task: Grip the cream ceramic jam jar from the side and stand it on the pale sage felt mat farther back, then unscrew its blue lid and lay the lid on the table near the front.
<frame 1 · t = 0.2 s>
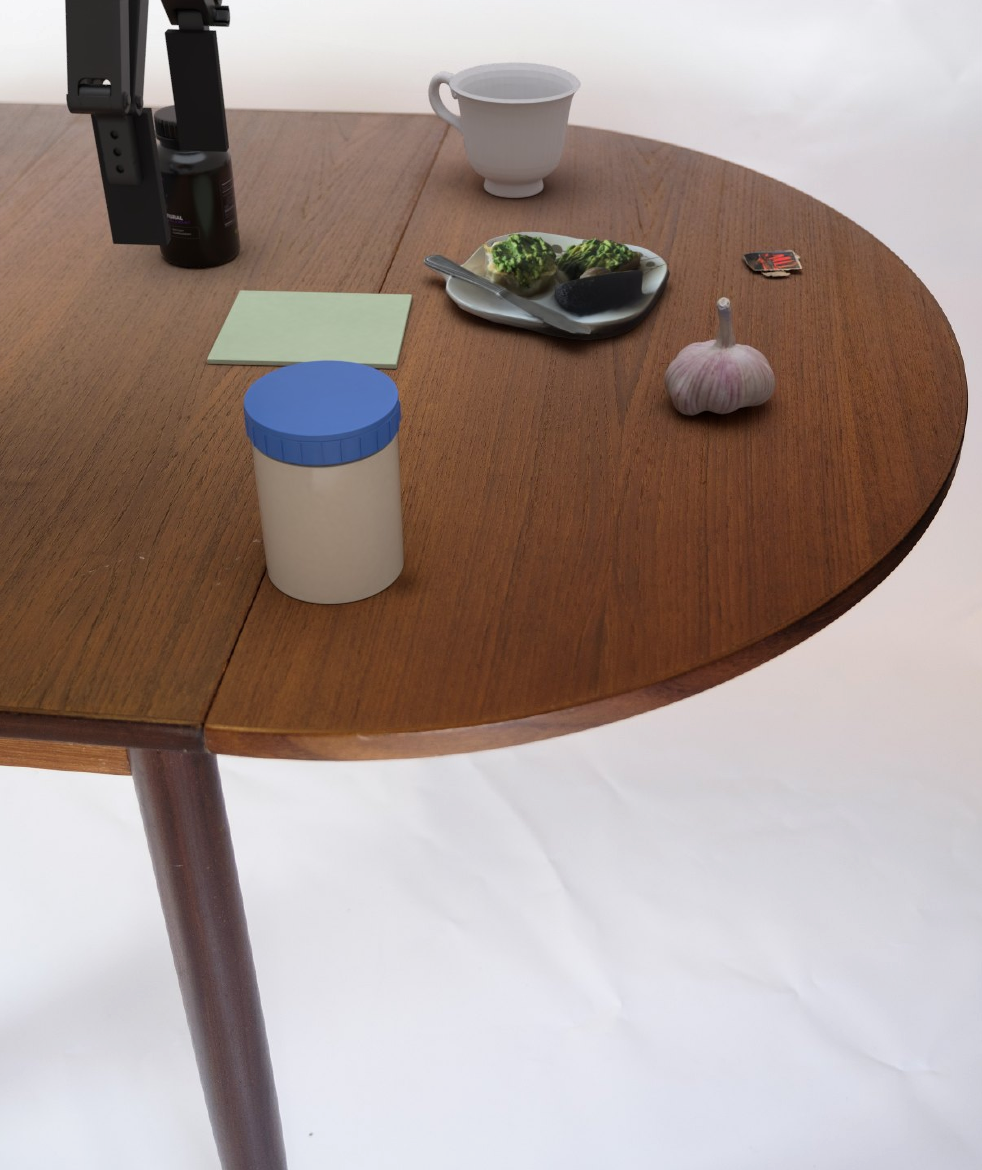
hand: (176, 192, 69), 19 cm above the table, tool pointing down, fingers open, 13 cm apart
teacup: (500, 187, 124), on the table
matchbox: (773, 267, 109), on the table
mat: (314, 330, 99), on the table
salad plate: (560, 299, 104), on the table
lid: (322, 402, 68), point 11 cm above the table, screwed on, not yet turned
garlic bulb: (716, 407, 90), on the table
jar: (335, 562, 75), on the table
supplement bottle: (202, 256, 110), on the table
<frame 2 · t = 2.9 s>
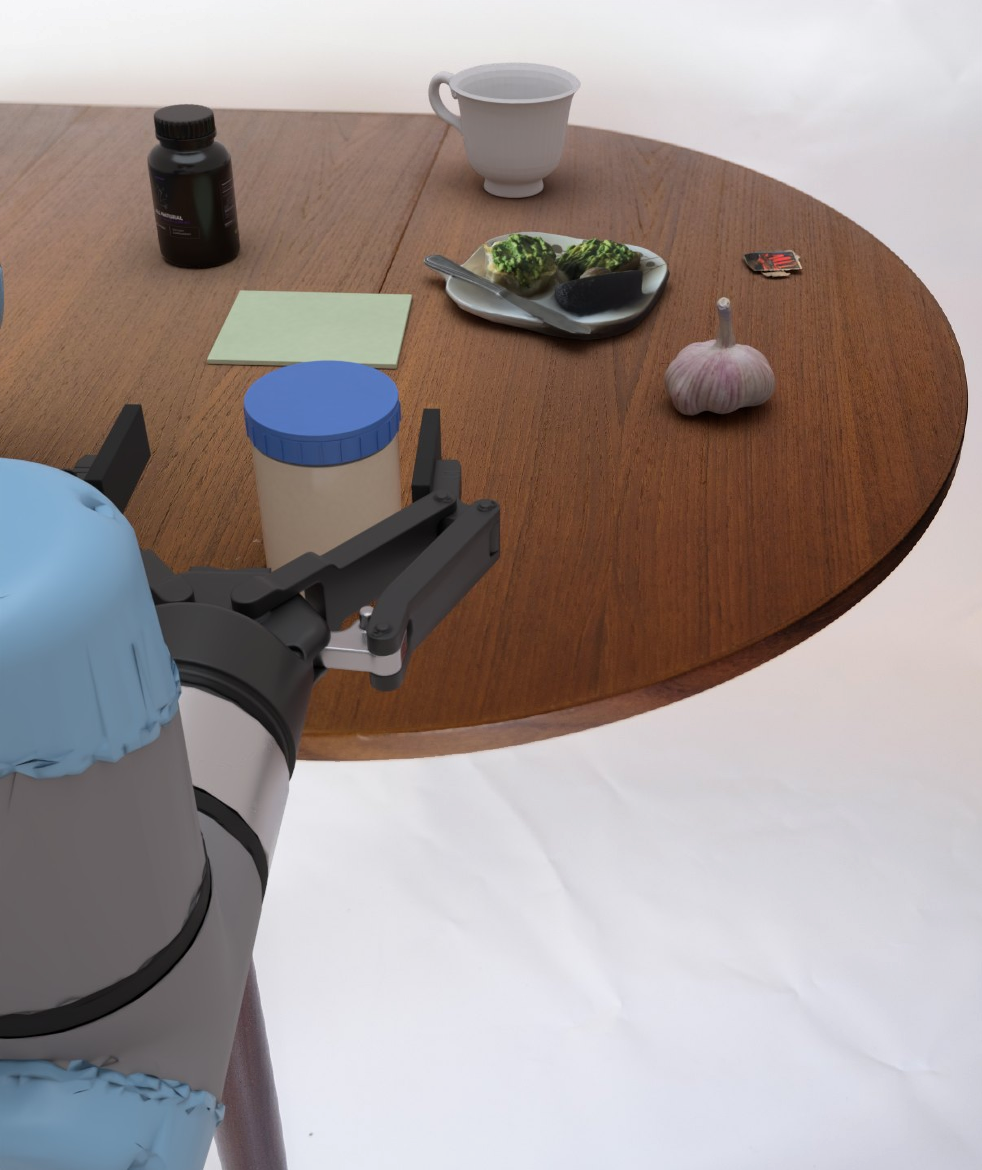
hand: (285, 431, 59), 14 cm above the table, tool horizontal, fingers open, 13 cm apart
nothing on the table moved.
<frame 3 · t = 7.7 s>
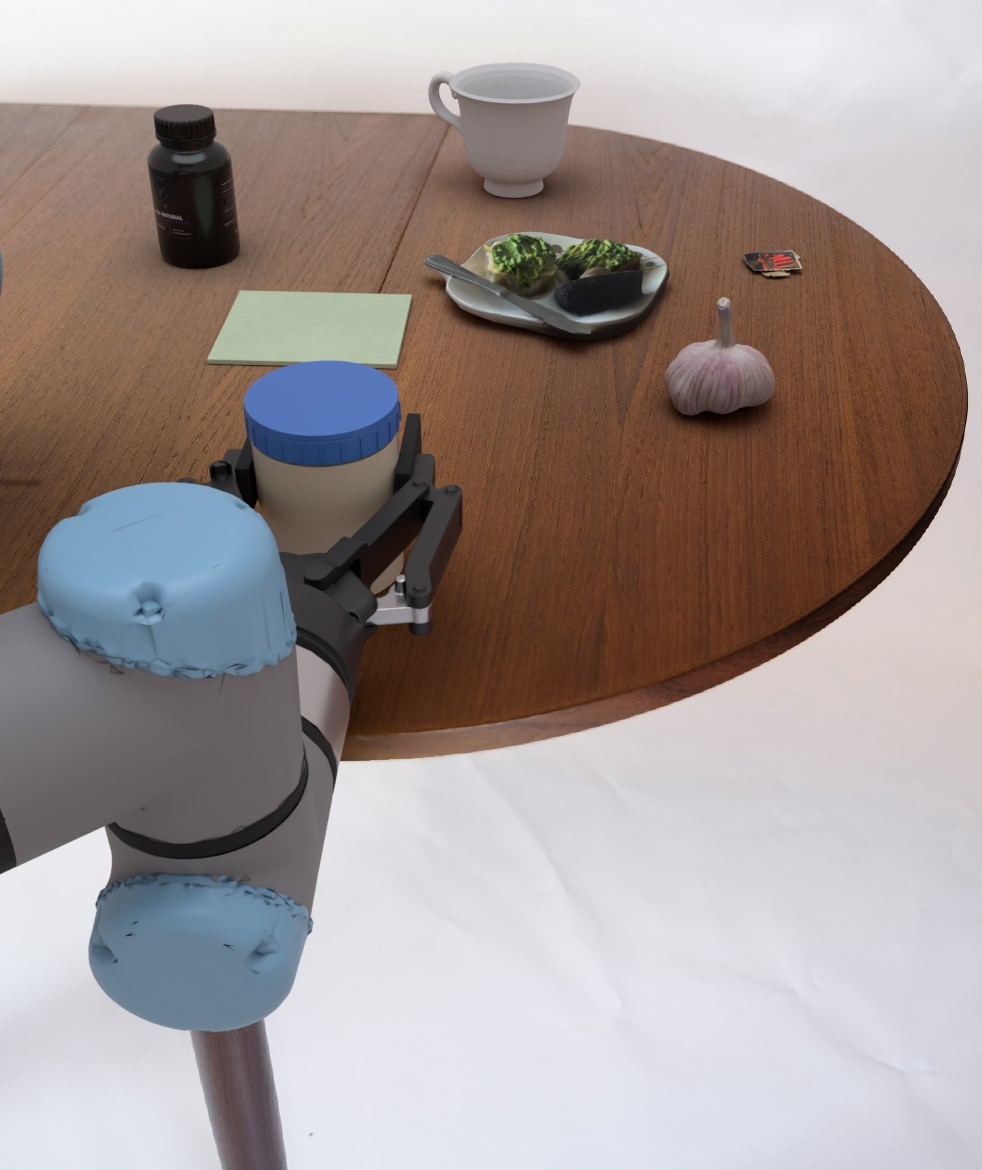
hand: (340, 431, 75), 6 cm above the table, tool horizontal, fingers closed on jar, 8 cm apart
jar: (335, 562, 75), on the table, touching gripper
everything else where it was.
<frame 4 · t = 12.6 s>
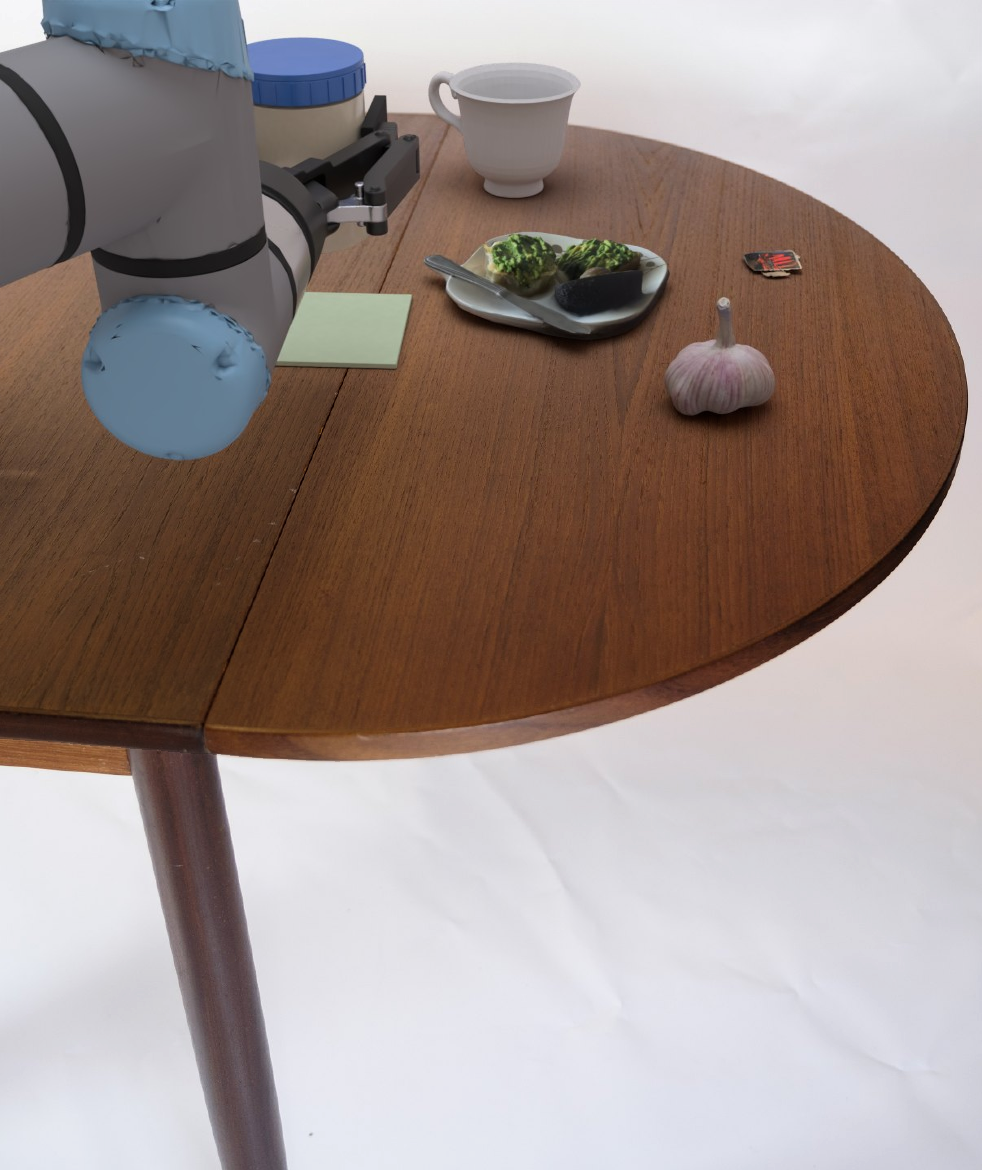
hand: (315, 115, 84), 18 cm above the table, tool horizontal, fingers closed on jar, 8 cm apart
lid: (296, 62, 77), point 23 cm above the table, screwed on, not yet turned
jar: (310, 231, 84), point 12 cm above the table, touching gripper
everything else where it was.
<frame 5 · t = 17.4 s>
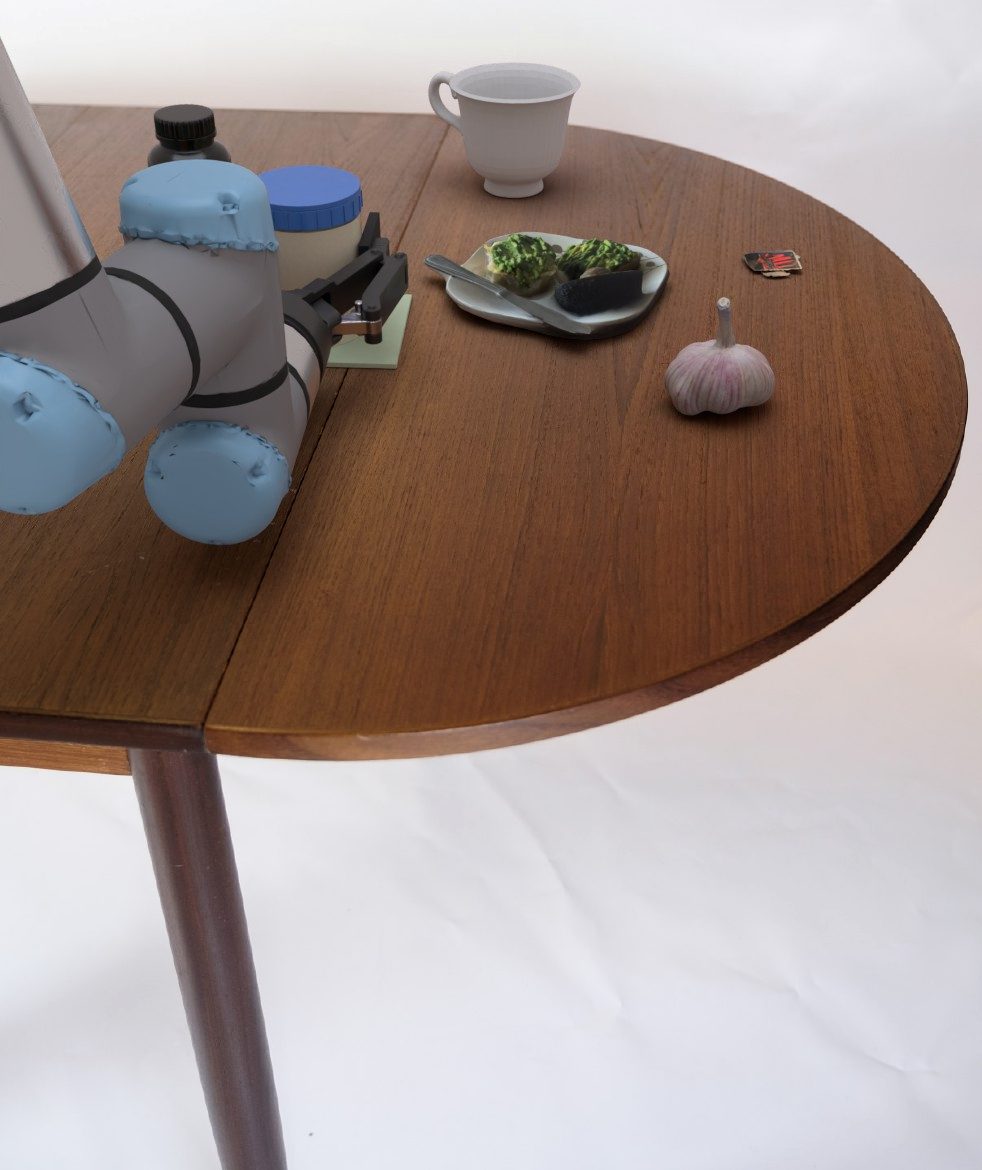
hand: (319, 228, 99), 6 cm above the table, tool horizontal, fingers closed on jar, 8 cm apart
lid: (303, 190, 92), point 11 cm above the table, screwed on, not yet turned
jar: (315, 325, 99), resting on mat, touching gripper
everything else where it was.
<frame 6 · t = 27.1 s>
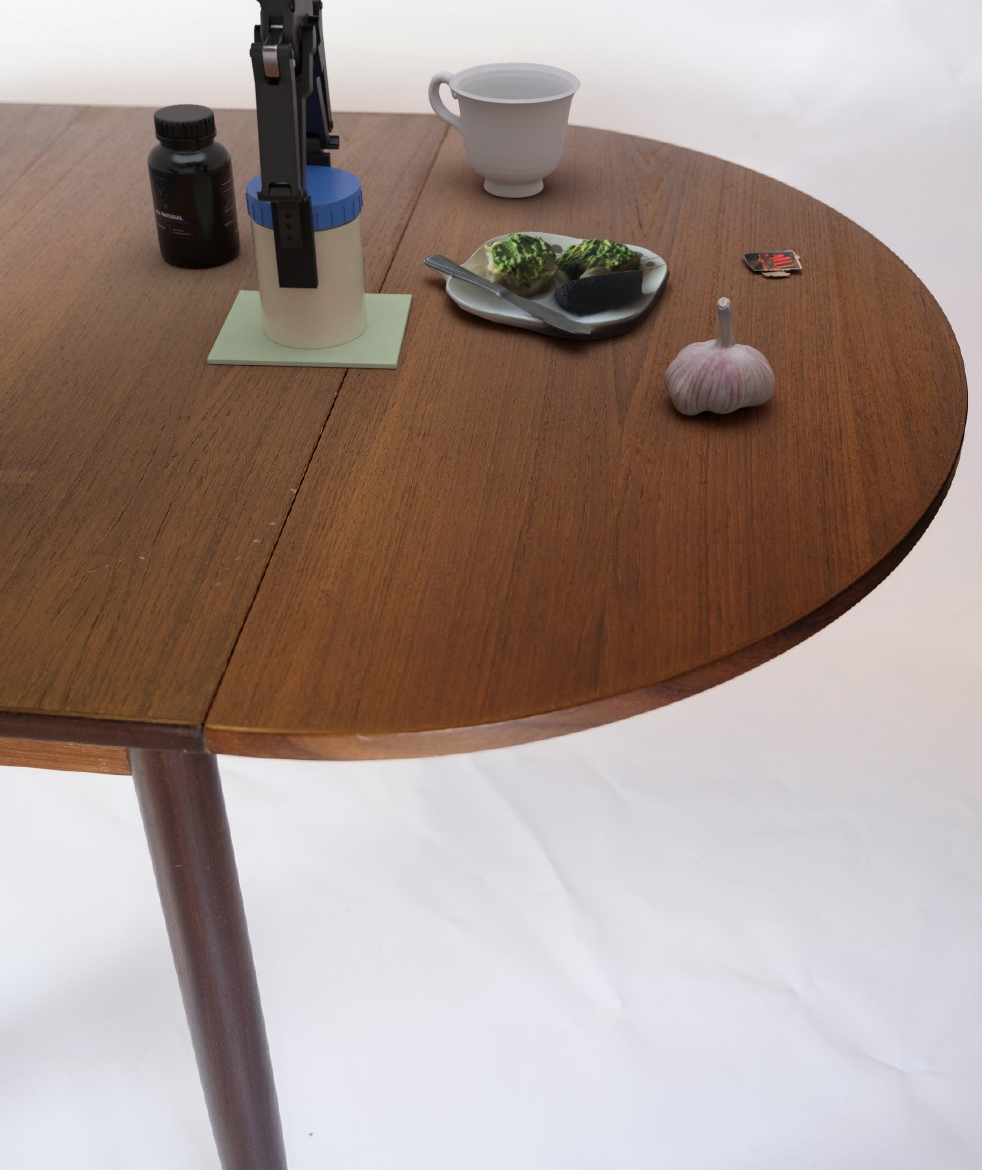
hand: (308, 260, 95), 6 cm above the table, tool pointing down, fingers closed on lid, 8 cm apart
lid: (303, 190, 92), point 11 cm above the table, screwed on, not yet turned, touching gripper
jar: (315, 325, 99), resting on mat
everything else where it was.
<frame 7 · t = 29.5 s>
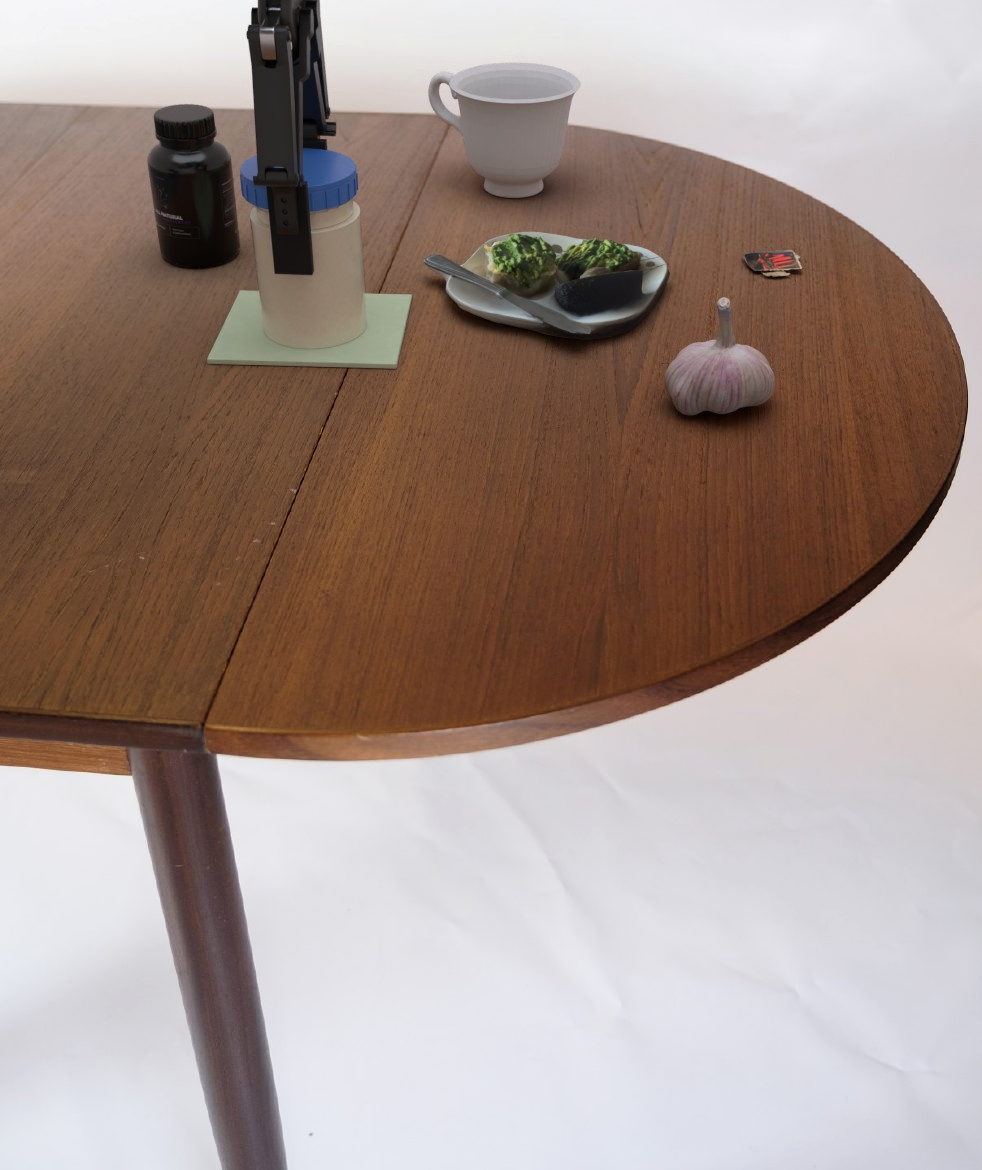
hand: (304, 247, 95), 7 cm above the table, tool pointing down, fingers closed on lid, 8 cm apart
lid: (298, 172, 91), point 12 cm above the table, off its thread, touching gripper
jar: (315, 325, 99), resting on mat, touching gripper
everything else where it was.
when the fingers open (0 cm above the table, at t = 38.4 s): lid drops 3 cm, point 1 cm above the table.
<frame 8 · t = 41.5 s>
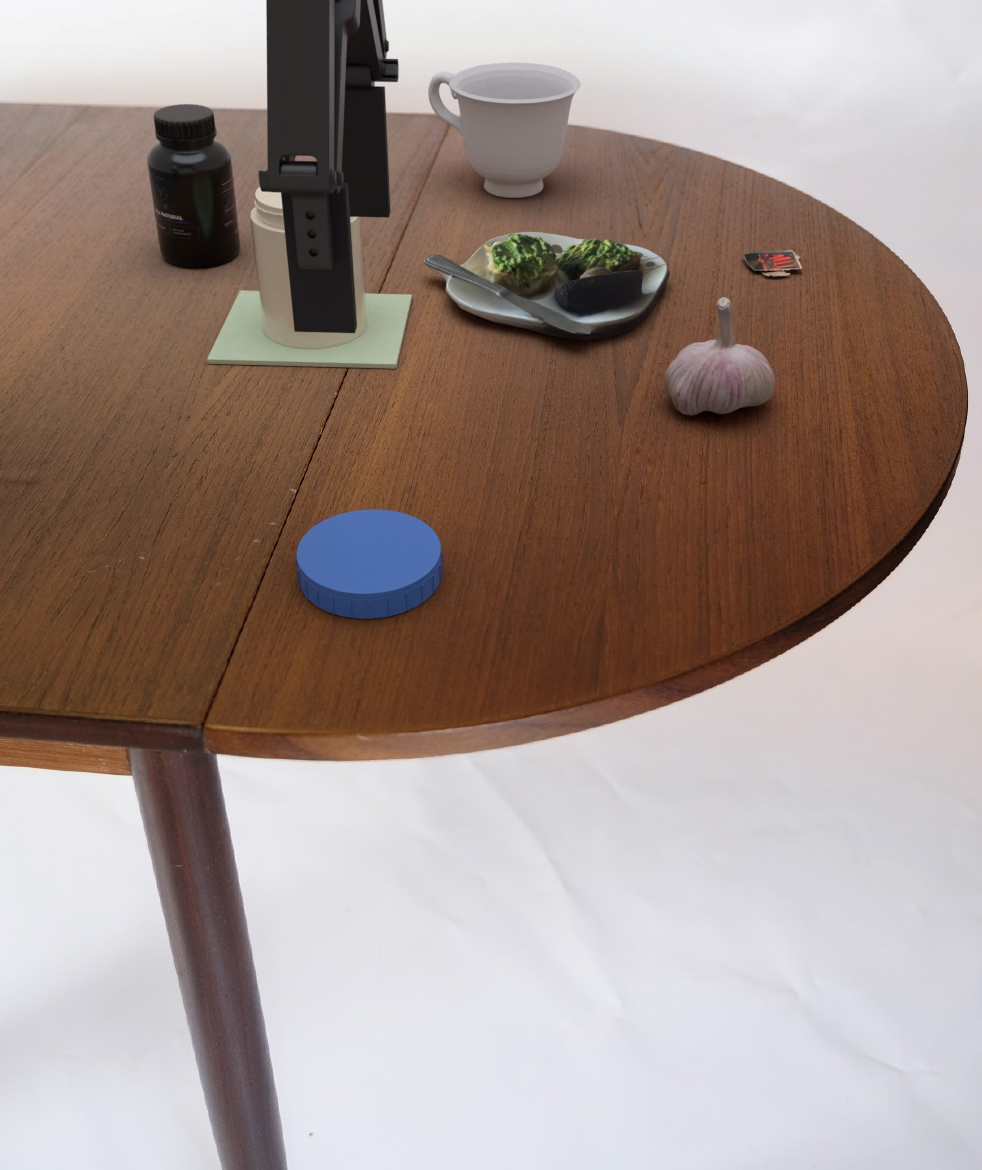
hand: (346, 267, 63), 19 cm above the table, tool pointing down, fingers open, 13 cm apart
lid: (369, 555, 73), point 1 cm above the table, off its thread
jar: (315, 325, 99), resting on mat
everything else where it was.
at the end: jar inside the target area on the mat (0.1 cm from its centre), point 0.4 cm above the mat's base; jar tilted 0°; lid inside the target area (0.2 cm from its centre), point 1.4 cm above the table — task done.
